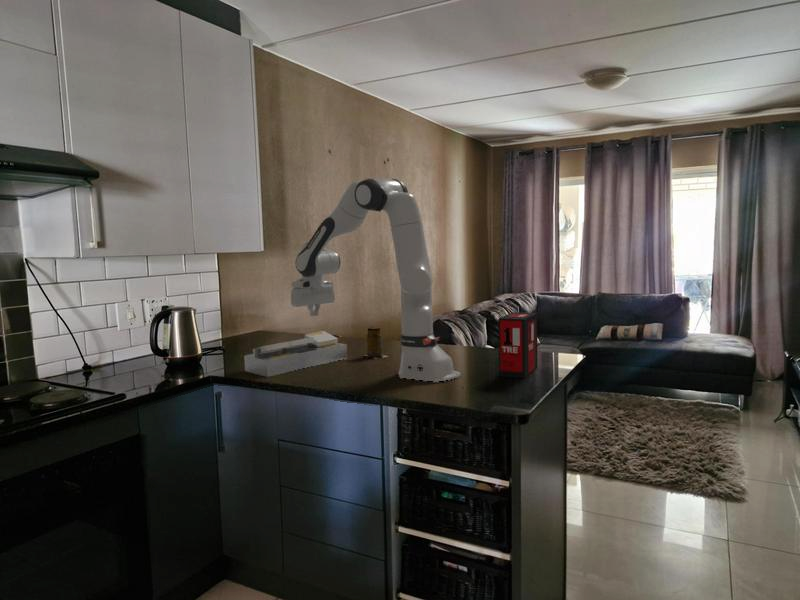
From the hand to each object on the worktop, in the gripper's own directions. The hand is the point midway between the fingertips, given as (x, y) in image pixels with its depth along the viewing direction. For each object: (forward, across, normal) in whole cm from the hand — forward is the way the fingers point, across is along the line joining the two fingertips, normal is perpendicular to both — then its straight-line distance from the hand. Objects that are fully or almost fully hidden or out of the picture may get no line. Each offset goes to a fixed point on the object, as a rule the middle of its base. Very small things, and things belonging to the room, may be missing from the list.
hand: (314, 315), depth 227 cm
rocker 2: (+9, +12, +4) cm, 15 cm away
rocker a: (+9, 0, +4) cm, 10 cm away
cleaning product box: (+18, -28, +79) cm, 85 cm away
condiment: (+18, -17, +18) cm, 31 cm away
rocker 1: (+9, +24, +4) cm, 26 cm away
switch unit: (+18, +12, +4) cm, 22 cm away
